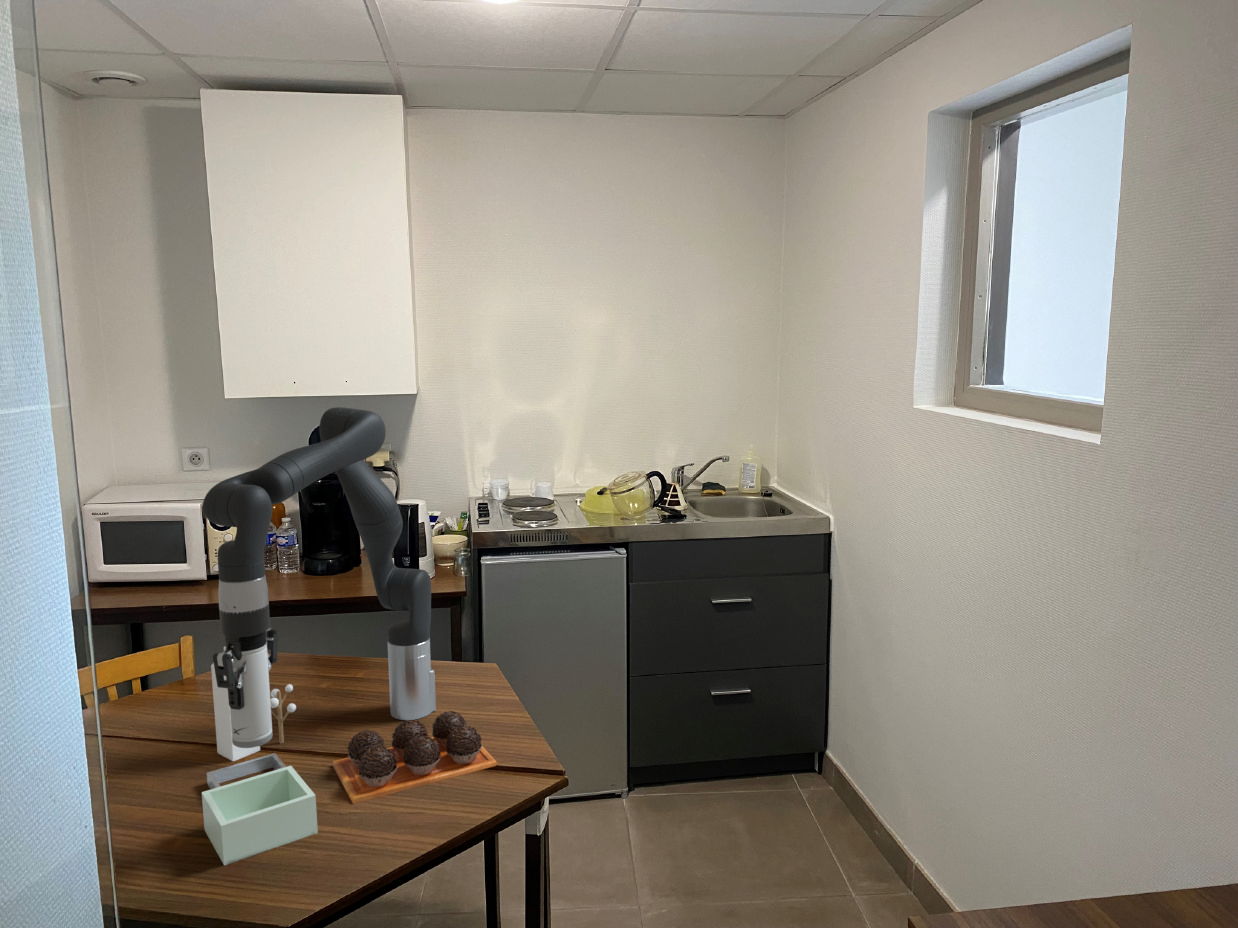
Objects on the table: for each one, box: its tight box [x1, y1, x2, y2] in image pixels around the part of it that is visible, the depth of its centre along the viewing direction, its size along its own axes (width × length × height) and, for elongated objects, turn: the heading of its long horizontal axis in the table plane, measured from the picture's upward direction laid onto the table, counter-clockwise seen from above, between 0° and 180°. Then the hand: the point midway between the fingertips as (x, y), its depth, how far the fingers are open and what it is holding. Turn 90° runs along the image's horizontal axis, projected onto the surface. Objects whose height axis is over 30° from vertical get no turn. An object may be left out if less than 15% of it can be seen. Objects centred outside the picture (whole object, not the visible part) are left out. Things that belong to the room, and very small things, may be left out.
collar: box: [206, 752, 287, 790], centre depth 164 cm, size 13×12×2 cm
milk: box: [210, 645, 261, 762], centre depth 176 cm, size 6×6×22 cm
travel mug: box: [225, 631, 273, 748], centre depth 145 cm, size 6×7×20 cm
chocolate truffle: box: [332, 710, 498, 804], centre depth 171 cm, size 28×17×8 cm, turn 120°
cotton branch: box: [270, 683, 297, 744], centre depth 181 cm, size 7×6×12 cm
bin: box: [201, 765, 319, 866], centre depth 148 cm, size 15×13×7 cm
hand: (250, 699), depth 145 cm, fingers closed on travel mug, 6 cm apart
